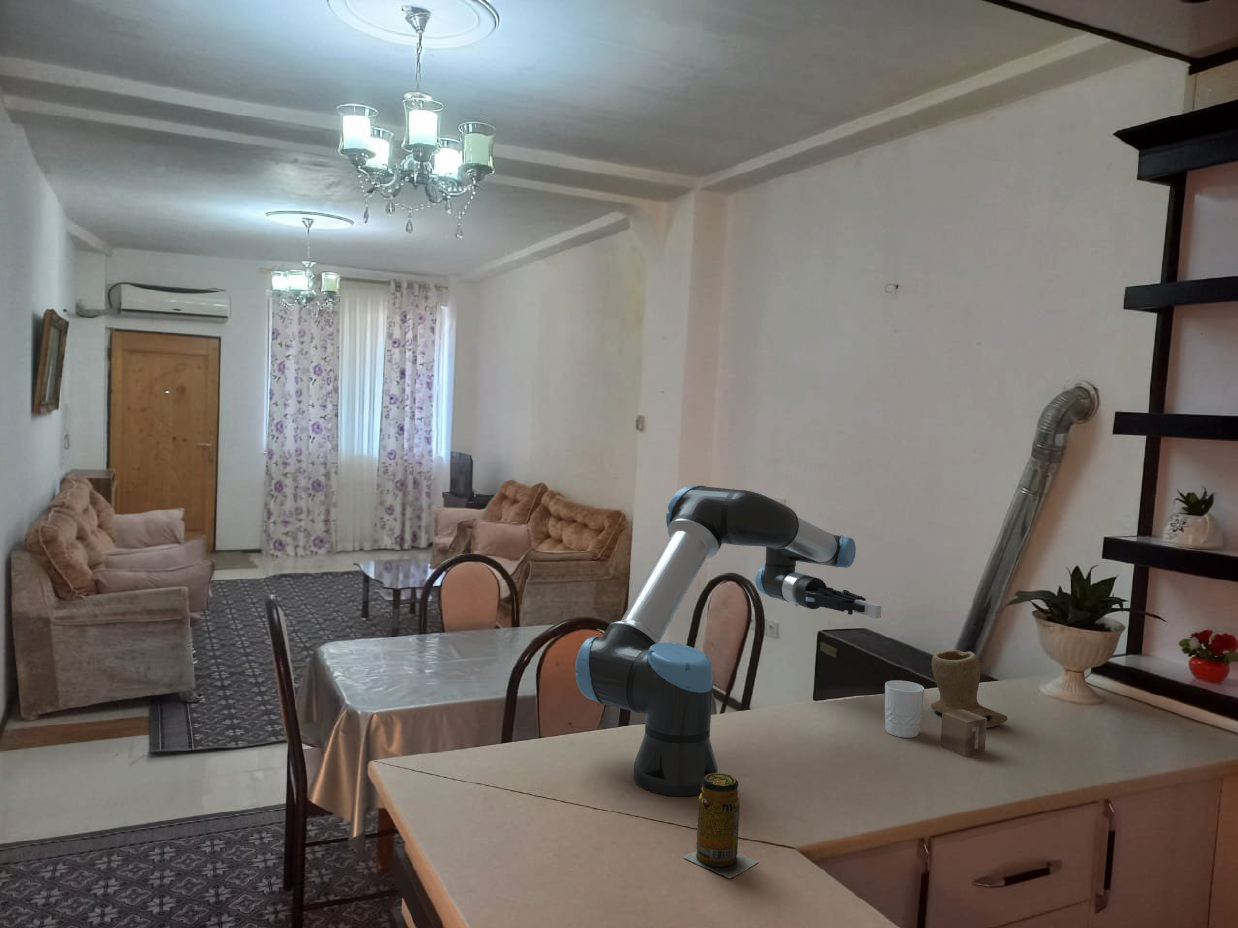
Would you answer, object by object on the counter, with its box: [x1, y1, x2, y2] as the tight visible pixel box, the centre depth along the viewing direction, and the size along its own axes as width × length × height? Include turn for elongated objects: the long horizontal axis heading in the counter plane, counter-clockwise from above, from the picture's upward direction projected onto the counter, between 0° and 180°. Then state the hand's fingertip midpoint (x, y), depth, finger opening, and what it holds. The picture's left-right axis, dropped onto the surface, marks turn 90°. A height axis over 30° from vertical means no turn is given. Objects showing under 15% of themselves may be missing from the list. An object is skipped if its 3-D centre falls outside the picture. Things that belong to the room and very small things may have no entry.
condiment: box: [683, 772, 759, 879], centre depth 131 cm, size 7×8×12 cm
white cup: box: [884, 679, 925, 739], centre depth 188 cm, size 8×8×10 cm
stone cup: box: [930, 649, 1009, 729], centre depth 198 cm, size 15×12×15 cm
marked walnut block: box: [939, 709, 987, 758], centre depth 180 cm, size 6×6×7 cm
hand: (878, 611), depth 194 cm, fingers closed
